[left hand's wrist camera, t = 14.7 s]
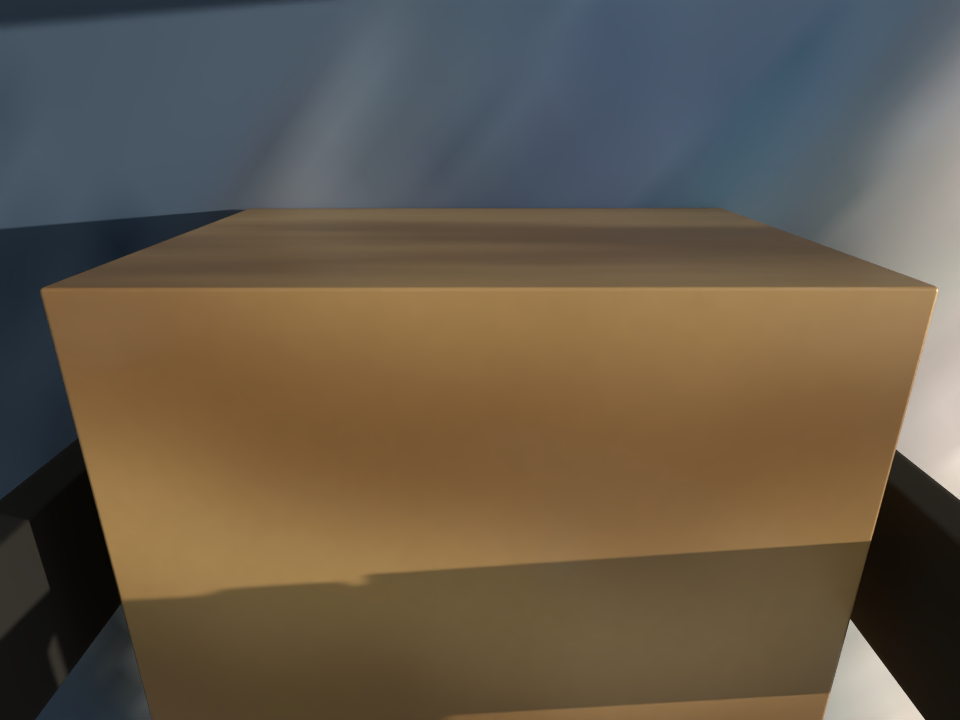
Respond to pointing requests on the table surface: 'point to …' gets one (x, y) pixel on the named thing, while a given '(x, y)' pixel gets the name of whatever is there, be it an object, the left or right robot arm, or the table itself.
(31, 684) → the left robot arm
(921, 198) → the table surface
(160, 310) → the wide beam
